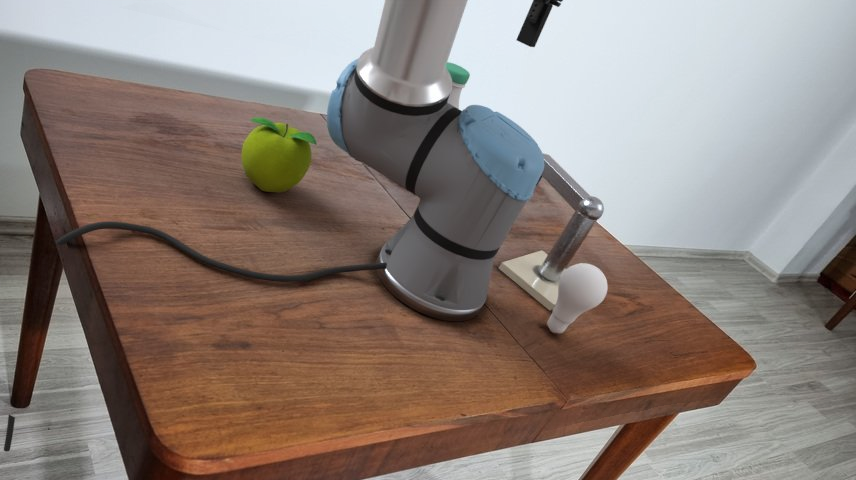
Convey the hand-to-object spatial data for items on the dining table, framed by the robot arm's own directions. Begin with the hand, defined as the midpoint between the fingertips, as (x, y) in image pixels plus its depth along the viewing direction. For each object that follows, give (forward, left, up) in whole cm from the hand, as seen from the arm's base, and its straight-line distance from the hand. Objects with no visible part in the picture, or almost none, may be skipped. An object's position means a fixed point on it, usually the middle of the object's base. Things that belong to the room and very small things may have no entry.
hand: (525, 43), depth 112 cm
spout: (-6, -20, -25) cm, 33 cm away
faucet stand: (-9, -26, -26) cm, 38 cm away
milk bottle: (-11, +3, -26) cm, 28 cm away
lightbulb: (-19, -34, -26) cm, 47 cm away
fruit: (-40, +5, -26) cm, 48 cm away
